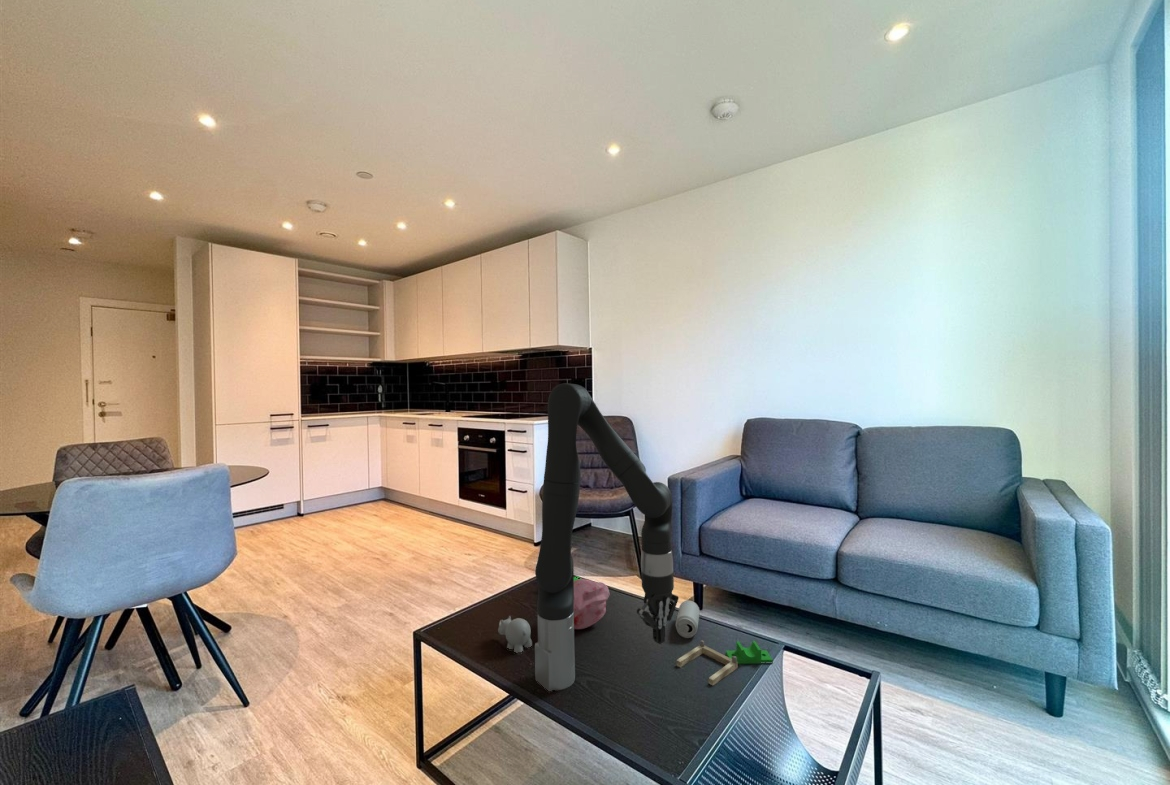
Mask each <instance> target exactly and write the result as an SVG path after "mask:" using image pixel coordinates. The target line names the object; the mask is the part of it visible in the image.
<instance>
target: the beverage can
mask: <svg viewBox="0 0 1170 785" xmlns="http://www.w3.org/2000/svg"><path fill="white" fill-rule="evenodd" d="M700 612H701V611H700V607H699V605H698V604H697V603H696V602H694V601H693V600H684V601H682V602H681V603H680V605H679V608H678V612H677V616H676V620H675V629H676V631H677V633H678V635H679V636H681V637H682V638H685V639H691V638H693V637H694V636H695V635H696V634H697V631H698V628H699V627H698V626H699V620H700ZM688 625H689V626H690V627H689V626H688ZM689 631H690V632H689Z"/></svg>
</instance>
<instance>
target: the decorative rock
mask: <svg viewBox="0 0 1170 785" xmlns="http://www.w3.org/2000/svg"><path fill="white" fill-rule="evenodd" d="M609 597H610V590H609V587H608V586H607V585H606V584H605V583H604V582H602V581H593V580H590V579H584V578H582V579H577V580H575V581H574V630H584V629H587V628H589V627H591V626H592V625H594V624H596V623H598V622H599V621H600V620H601V619H602V618H603V617H604V616H605V614H606V612H607V609H606V606H607V601H608V599H609Z"/></svg>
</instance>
